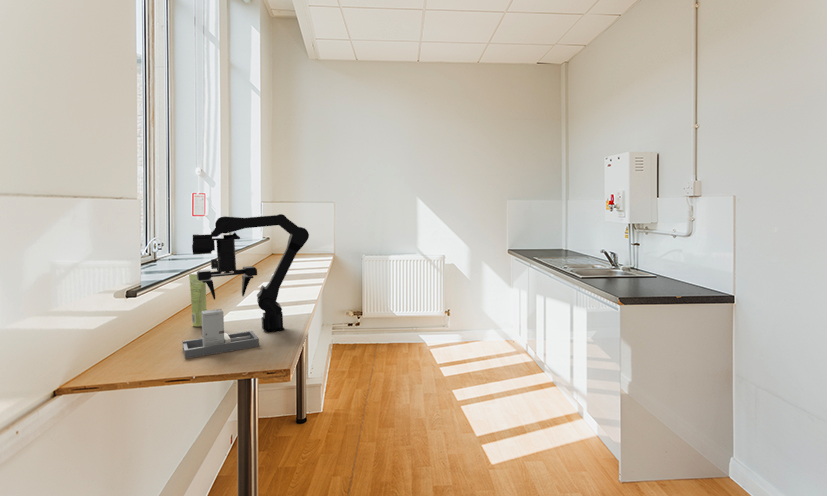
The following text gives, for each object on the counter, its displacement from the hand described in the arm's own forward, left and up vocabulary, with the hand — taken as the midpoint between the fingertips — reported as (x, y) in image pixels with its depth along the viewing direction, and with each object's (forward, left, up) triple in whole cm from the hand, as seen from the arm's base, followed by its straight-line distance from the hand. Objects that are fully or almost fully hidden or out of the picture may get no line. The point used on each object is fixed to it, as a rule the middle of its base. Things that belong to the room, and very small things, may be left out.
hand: (228, 297), depth 155 cm
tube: (+8, -20, -13) cm, 25 cm away
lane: (+5, +14, -13) cm, 20 cm away
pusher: (0, +14, -13) cm, 19 cm away
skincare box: (+7, +14, -13) cm, 21 cm away
